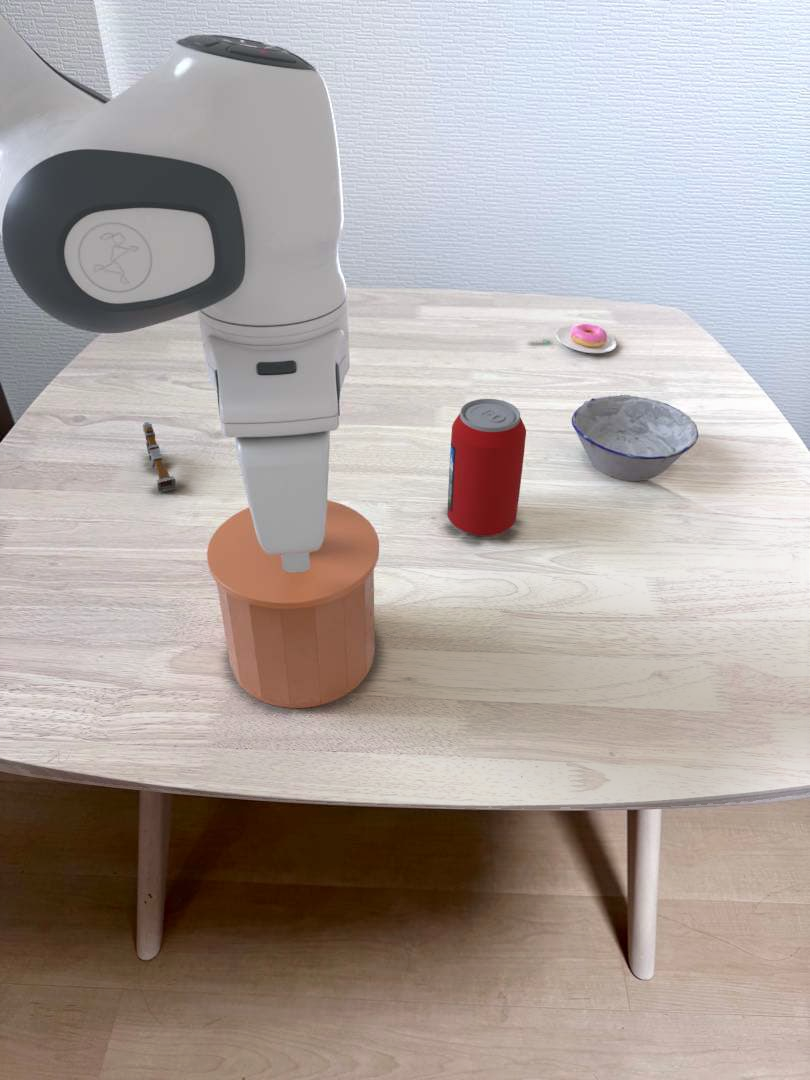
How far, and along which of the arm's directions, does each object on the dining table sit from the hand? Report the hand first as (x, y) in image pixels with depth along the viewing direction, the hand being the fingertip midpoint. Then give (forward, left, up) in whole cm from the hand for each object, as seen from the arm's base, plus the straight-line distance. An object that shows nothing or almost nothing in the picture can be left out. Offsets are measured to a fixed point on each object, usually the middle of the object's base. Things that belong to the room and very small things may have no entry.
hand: (294, 524), depth 60 cm
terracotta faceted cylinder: (0, 0, -13) cm, 13 cm away
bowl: (+36, +25, -13) cm, 46 cm away
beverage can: (+18, +16, -13) cm, 27 cm away
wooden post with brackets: (-14, +28, -13) cm, 34 cm away
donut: (+39, +54, -13) cm, 68 cm away
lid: (0, 0, -3) cm, 3 cm away
